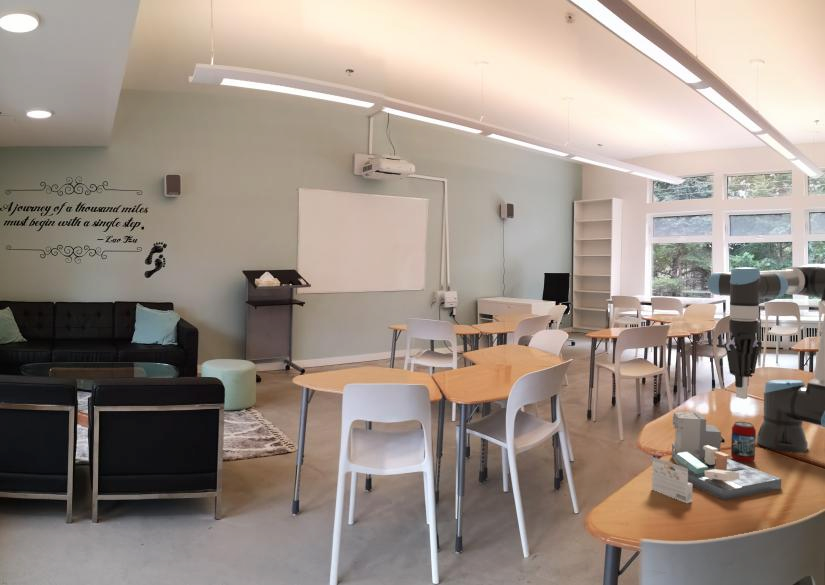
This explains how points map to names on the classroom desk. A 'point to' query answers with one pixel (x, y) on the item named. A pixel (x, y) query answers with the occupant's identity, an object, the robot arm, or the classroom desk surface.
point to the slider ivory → (710, 454)
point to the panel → (734, 481)
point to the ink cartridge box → (671, 481)
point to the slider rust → (721, 460)
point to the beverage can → (743, 442)
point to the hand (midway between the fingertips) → (741, 397)
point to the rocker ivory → (722, 475)
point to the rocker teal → (691, 462)
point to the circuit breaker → (694, 435)
